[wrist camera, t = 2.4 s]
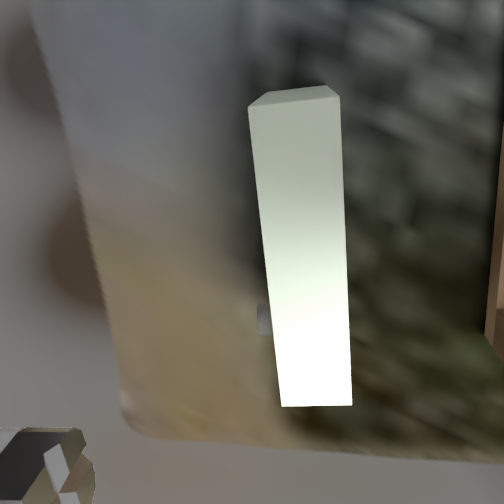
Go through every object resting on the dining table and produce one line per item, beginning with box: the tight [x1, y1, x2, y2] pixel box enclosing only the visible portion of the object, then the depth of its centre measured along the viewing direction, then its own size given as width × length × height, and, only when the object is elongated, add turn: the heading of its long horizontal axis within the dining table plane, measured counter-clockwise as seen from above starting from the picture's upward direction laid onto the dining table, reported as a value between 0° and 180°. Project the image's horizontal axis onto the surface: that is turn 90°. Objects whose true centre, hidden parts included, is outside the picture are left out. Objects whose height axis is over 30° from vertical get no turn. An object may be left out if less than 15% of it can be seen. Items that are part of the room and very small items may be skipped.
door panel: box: [248, 85, 352, 406], centre depth 17 cm, size 10×3×7 cm, turn 7°
